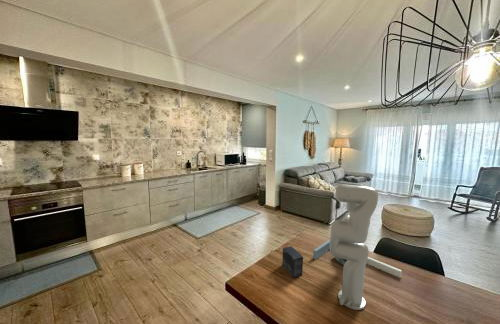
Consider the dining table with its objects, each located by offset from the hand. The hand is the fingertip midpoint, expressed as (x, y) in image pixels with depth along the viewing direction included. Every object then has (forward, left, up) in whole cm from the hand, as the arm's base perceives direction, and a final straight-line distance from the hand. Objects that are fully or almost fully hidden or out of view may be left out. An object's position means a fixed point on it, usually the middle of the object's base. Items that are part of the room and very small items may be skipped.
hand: (348, 257), depth 136 cm
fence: (+2, -3, -5) cm, 6 cm away
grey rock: (+1, +5, -6) cm, 7 cm away
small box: (-31, +21, -6) cm, 38 cm away
